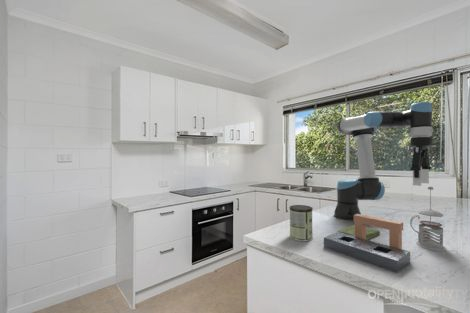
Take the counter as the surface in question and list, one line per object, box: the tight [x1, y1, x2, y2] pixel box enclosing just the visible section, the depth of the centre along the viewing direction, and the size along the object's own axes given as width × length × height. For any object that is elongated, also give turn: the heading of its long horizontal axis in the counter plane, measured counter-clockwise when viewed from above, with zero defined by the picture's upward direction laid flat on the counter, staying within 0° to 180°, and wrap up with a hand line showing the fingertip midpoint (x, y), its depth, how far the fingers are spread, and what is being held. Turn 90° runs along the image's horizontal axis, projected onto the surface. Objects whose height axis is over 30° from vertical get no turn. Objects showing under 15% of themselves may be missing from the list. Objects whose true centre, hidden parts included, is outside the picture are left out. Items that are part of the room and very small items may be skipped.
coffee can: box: [289, 204, 314, 242], centre depth 106 cm, size 10×10×14 cm
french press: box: [409, 186, 447, 252], centre depth 96 cm, size 10×12×25 cm
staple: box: [353, 213, 404, 249], centre depth 94 cm, size 17×4×12 cm, turn 39°
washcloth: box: [336, 223, 381, 240], centre depth 110 cm, size 13×18×3 cm
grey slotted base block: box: [323, 231, 411, 274], centre depth 87 cm, size 26×12×4 cm, turn 36°
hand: (421, 184), depth 102 cm, fingers open, 13 cm apart
